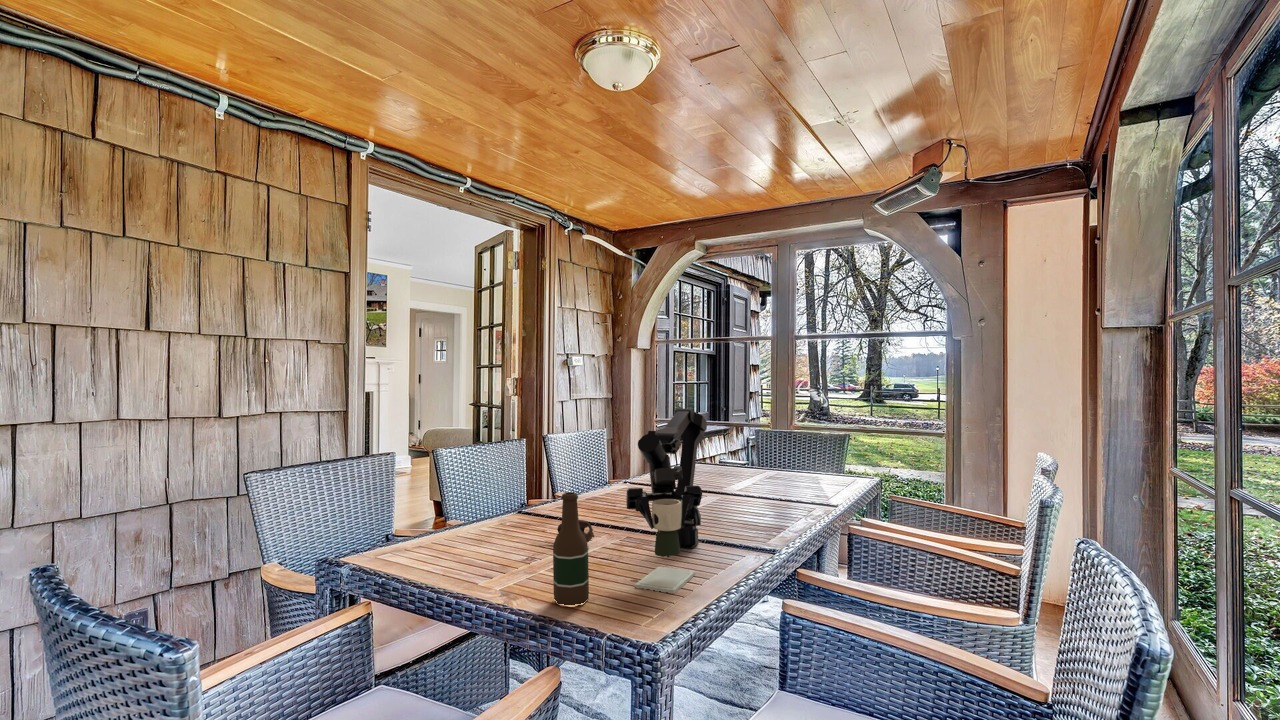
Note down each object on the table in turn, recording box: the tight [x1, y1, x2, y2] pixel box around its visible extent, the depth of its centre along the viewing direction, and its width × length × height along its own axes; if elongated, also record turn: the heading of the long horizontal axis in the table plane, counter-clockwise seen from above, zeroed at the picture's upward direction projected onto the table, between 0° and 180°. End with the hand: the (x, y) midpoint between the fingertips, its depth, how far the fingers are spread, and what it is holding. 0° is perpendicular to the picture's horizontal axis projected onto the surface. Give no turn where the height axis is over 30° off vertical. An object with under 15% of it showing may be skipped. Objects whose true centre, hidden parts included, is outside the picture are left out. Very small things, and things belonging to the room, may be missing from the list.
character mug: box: [651, 499, 681, 558], centre depth 144 cm, size 11×7×13 cm, turn 3°
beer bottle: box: [552, 491, 590, 605], centre depth 132 cm, size 8×8×24 cm
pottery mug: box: [556, 519, 596, 544], centre depth 176 cm, size 12×10×8 cm
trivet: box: [634, 566, 696, 594], centre depth 144 cm, size 10×14×1 cm
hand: (667, 527), depth 143 cm, fingers closed on character mug, 7 cm apart
